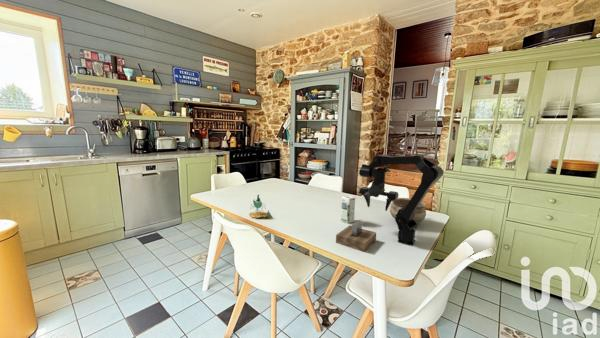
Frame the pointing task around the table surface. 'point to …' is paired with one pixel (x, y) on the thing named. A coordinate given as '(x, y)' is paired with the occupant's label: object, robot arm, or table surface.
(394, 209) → the cooking pot
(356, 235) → the upright grey stone slab
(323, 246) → the table surface
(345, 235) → the post block
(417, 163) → the robot arm
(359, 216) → the table surface
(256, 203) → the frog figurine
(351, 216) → the syrup box
